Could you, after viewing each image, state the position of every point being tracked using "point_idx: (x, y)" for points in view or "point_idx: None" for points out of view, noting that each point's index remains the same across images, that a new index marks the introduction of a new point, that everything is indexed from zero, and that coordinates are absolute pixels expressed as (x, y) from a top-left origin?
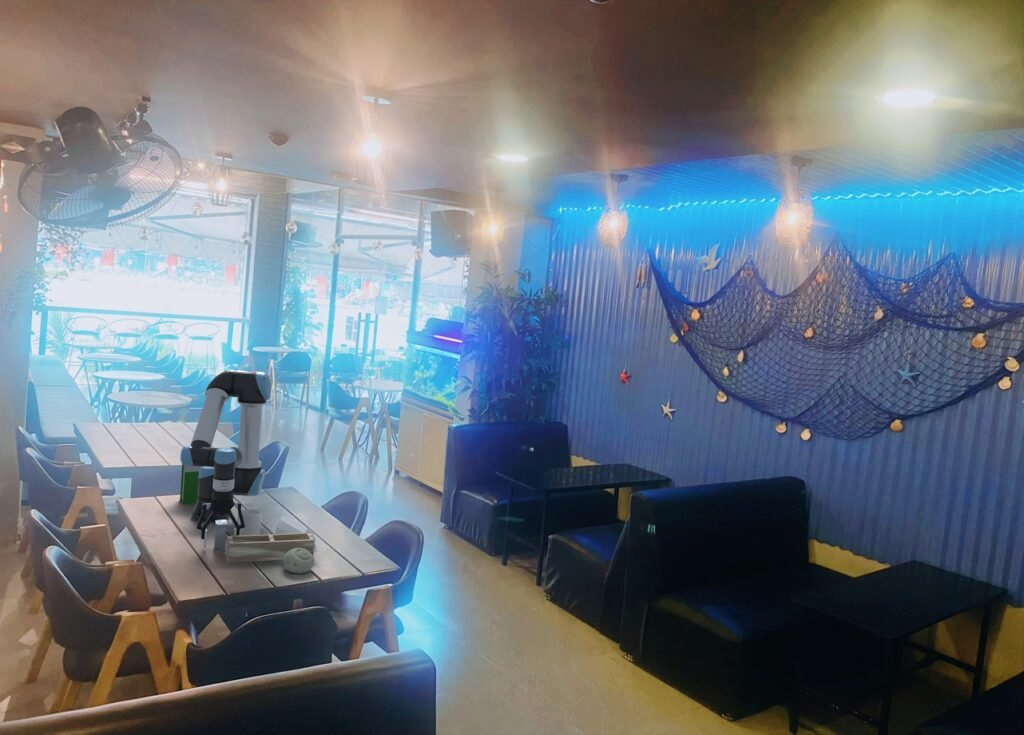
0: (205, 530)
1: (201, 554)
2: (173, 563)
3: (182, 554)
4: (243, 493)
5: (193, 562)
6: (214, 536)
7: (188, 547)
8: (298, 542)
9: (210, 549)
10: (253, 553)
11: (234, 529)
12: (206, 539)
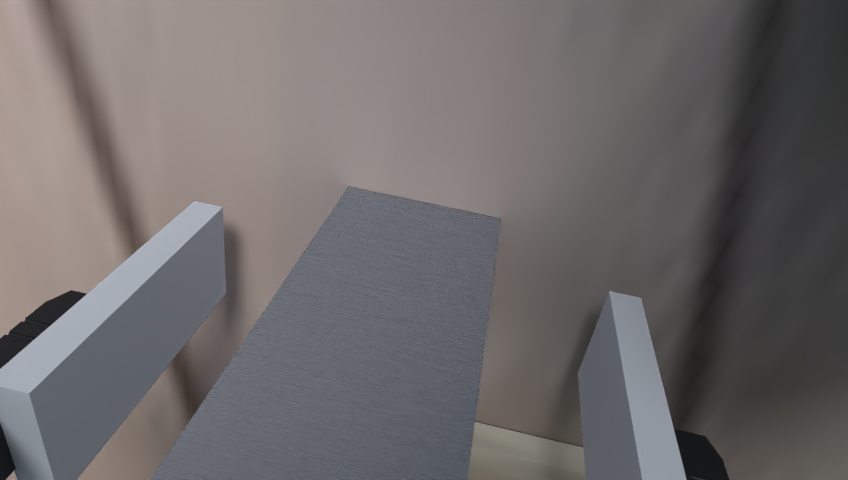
0: (15, 447)
1: (199, 337)
2: None
3: (6, 268)
4: None
5: (143, 473)
6: (280, 294)
7: (15, 46)
8: None
9: (302, 225)
10: None
11: None
12: (153, 380)
